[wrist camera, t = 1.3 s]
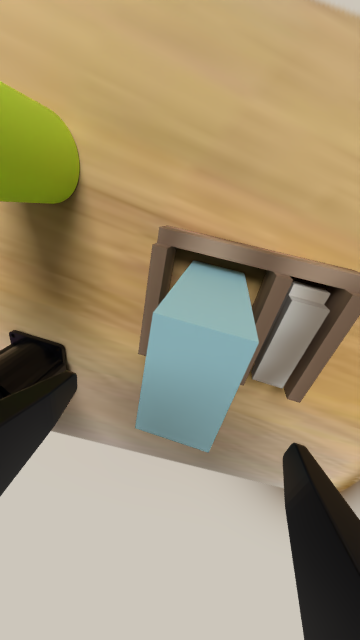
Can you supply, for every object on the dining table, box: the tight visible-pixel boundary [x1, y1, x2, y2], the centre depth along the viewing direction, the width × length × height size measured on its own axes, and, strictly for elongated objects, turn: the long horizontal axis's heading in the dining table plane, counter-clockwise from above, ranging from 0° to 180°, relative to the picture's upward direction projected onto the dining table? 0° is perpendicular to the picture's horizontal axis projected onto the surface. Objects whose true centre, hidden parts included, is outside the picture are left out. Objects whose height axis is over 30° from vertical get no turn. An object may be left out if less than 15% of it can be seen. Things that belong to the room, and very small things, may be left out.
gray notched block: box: [251, 281, 330, 388], centre depth 17 cm, size 2×8×3 cm, turn 169°
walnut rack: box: [138, 226, 360, 403], centre depth 16 cm, size 14×10×3 cm
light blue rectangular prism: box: [135, 260, 259, 453], centre depth 14 cm, size 4×7×10 cm, turn 169°
